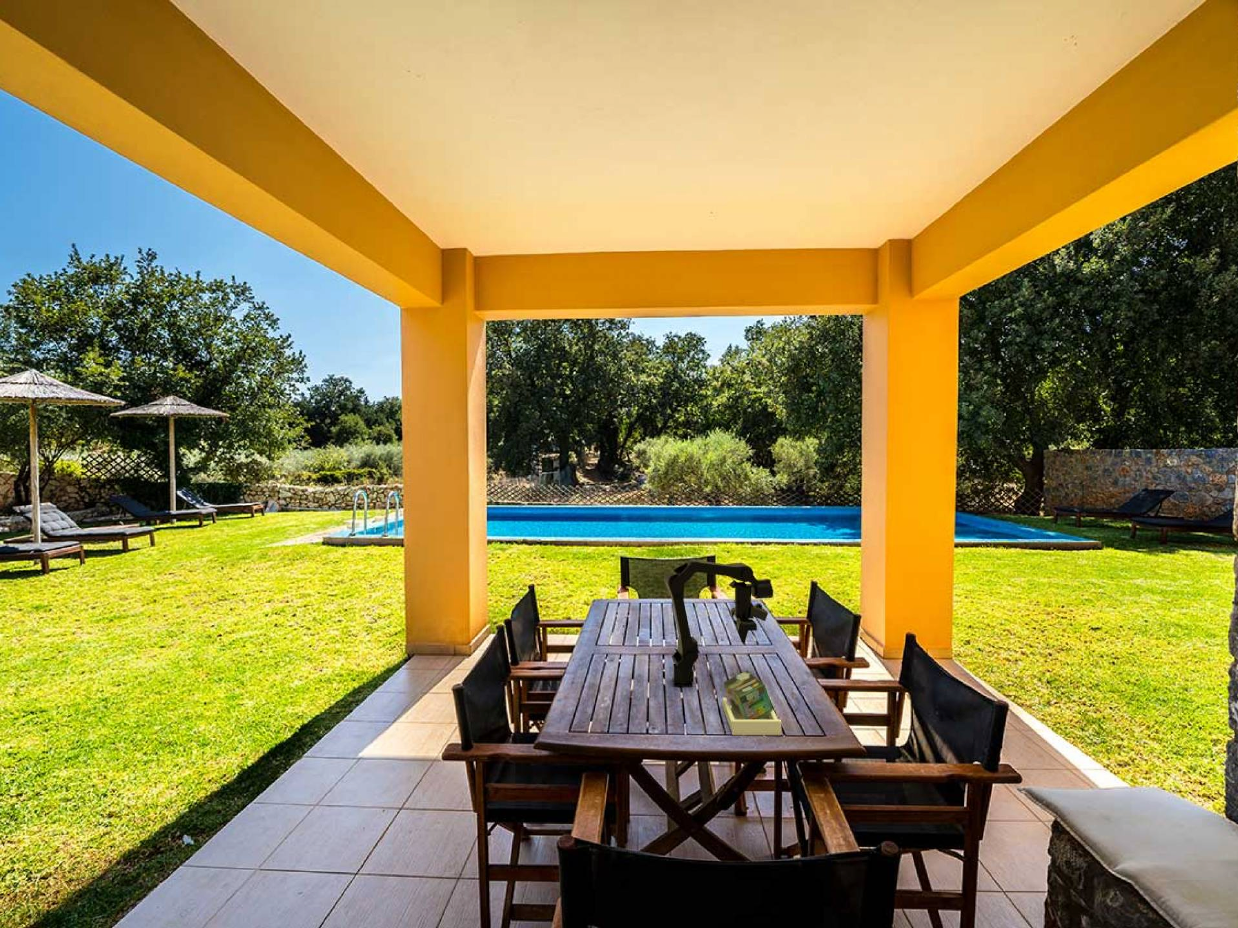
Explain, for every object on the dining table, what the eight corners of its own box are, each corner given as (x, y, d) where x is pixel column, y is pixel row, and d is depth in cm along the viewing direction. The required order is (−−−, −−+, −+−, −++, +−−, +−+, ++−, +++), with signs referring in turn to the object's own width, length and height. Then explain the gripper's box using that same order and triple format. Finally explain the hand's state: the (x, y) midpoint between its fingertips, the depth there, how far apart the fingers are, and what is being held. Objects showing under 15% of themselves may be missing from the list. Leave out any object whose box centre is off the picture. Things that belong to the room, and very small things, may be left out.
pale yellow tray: (732, 734, 170) (732, 721, 170) (722, 706, 188) (722, 694, 188) (781, 734, 170) (781, 721, 169) (766, 706, 188) (766, 694, 188)
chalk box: (731, 706, 187) (752, 729, 173) (722, 681, 186) (743, 702, 172) (756, 694, 189) (779, 715, 175) (747, 668, 188) (770, 688, 174)
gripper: (772, 606, 200) (772, 651, 200) (760, 592, 218) (760, 634, 219) (739, 606, 200) (739, 651, 201) (730, 592, 219) (730, 634, 219)
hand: (743, 642), depth 210 cm, fingers closed
